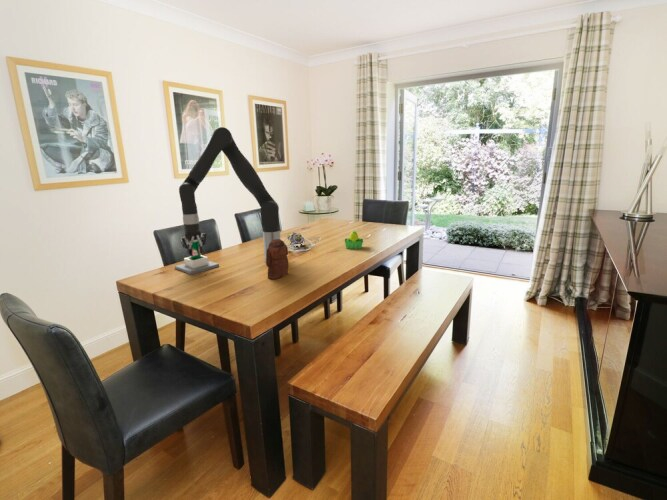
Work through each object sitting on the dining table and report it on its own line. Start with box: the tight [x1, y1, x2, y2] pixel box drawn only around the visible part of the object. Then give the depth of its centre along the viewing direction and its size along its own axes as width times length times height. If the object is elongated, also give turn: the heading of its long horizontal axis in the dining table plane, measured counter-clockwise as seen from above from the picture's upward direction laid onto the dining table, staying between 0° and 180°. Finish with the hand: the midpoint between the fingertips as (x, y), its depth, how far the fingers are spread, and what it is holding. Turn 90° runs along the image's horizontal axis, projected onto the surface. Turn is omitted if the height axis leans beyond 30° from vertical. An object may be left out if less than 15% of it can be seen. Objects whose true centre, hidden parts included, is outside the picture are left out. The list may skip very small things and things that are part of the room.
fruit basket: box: [344, 230, 364, 250], centre depth 215 cm, size 11×9×11 cm
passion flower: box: [287, 231, 307, 246], centre depth 221 cm, size 11×11×12 cm
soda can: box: [189, 239, 202, 260], centre depth 182 cm, size 5×5×12 cm
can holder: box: [174, 254, 220, 275], centre depth 184 cm, size 16×16×6 cm
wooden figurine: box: [265, 238, 289, 280], centre depth 167 cm, size 12×6×18 cm, turn 150°
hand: (195, 254), depth 183 cm, fingers closed on soda can, 5 cm apart
